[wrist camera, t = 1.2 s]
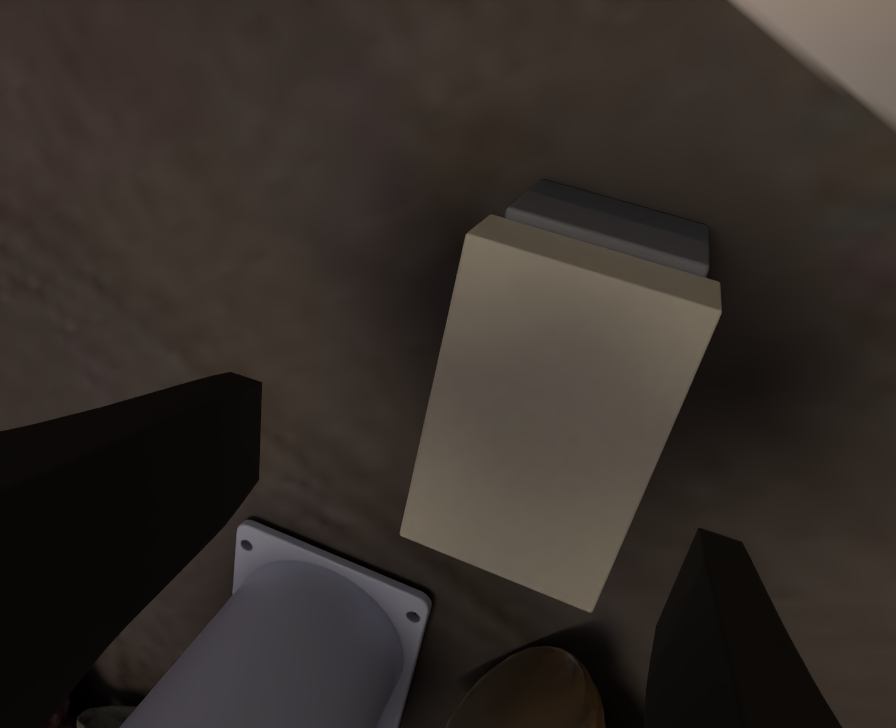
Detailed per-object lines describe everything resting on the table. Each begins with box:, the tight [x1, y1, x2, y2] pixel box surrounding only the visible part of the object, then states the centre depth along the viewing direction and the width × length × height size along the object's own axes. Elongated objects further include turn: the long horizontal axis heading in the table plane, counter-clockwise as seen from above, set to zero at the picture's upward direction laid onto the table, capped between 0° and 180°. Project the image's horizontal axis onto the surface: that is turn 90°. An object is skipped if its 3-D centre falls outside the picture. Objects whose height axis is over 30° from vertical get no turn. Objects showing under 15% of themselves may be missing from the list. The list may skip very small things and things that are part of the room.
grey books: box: [504, 179, 709, 278], centre depth 18 cm, size 8×4×4 cm, turn 168°
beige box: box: [400, 214, 722, 613], centre depth 16 cm, size 8×5×2 cm, turn 168°
